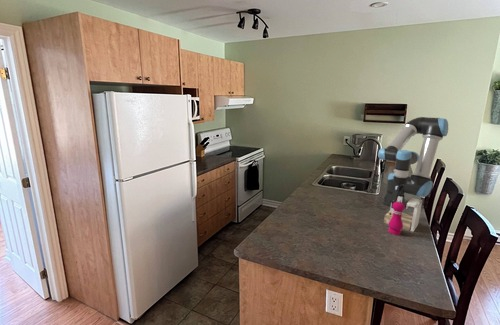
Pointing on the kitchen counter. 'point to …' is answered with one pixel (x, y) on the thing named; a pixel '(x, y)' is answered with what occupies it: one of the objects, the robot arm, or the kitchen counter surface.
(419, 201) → the awning
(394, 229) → the pepper mill
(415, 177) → the robot arm
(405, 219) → the socket block
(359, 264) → the kitchen counter surface
